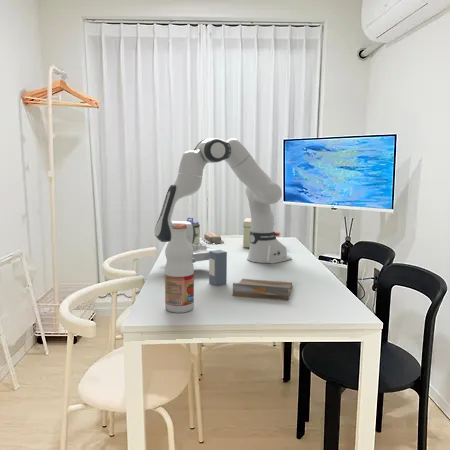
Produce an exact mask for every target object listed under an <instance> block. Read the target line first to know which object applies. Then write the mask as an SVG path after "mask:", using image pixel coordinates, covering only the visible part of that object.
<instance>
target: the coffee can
mask: <svg viewBox="0 0 450 450" xmlns="http://www.w3.org/2000/svg"><path fill="white" fill-rule="evenodd" d="M192 224H193V226H194V228H195V231H196V236H195V240H194V243H193V244H195V245H201V244H200V243H201V242H200V240H201V239H200V236H201V235H200V225H201V224H200V223H199V224H196V223H192Z"/></svg>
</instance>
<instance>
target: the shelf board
mask: <svg viewBox="0 0 450 450" xmlns="http://www.w3.org/2000/svg"><path fill="white" fill-rule="evenodd" d="M292 287H293V282H291V281H280V280H263V279H249V278H241V280H240V281H239V282H233V283H232V297H233V296H234V297H245V298H258V299H269V300H279V299H280V301H281V300H282V301H289V299H290V296H291V292H292V289H293V288H292Z"/></svg>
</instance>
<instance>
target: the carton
mask: <svg viewBox="0 0 450 450" xmlns="http://www.w3.org/2000/svg"><path fill="white" fill-rule="evenodd" d="M227 256H228V251H225V250H222V249H218V250H217V249H214V251H209V260H208V261H209V267H208V269H209V271H208V272H209V273H208V275H209V276H208V278H209V280H208V281H209V284H211V285H213V286H215V287H218V286H224V285H227V279H228V278H227V276H228V274H227V272H228V271H227V270H228V269H227V268H228V267H227V263H228V261H227V260H228V258H227Z"/></svg>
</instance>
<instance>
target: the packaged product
mask: <svg viewBox="0 0 450 450" xmlns="http://www.w3.org/2000/svg"><path fill="white" fill-rule="evenodd" d="M203 236H204V237H201V239H202V240H203V241H204V242H205V241H206V242H207V243H206V242H205V243H206V244H208V245H214V244H213V243H222V244H225V241H224V240H222V237H221V236H220V235H219V234H217V233H216V232H213V231H210V232H206V233H204V235H203Z"/></svg>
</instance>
